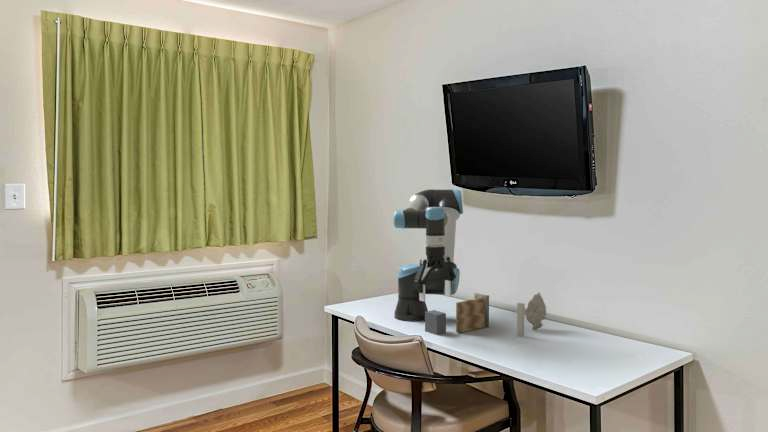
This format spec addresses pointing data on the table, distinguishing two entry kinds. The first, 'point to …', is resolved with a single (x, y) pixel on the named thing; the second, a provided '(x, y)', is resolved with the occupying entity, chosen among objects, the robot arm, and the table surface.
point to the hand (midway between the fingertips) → (435, 298)
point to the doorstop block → (435, 322)
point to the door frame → (519, 314)
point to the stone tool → (536, 311)
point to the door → (470, 315)
